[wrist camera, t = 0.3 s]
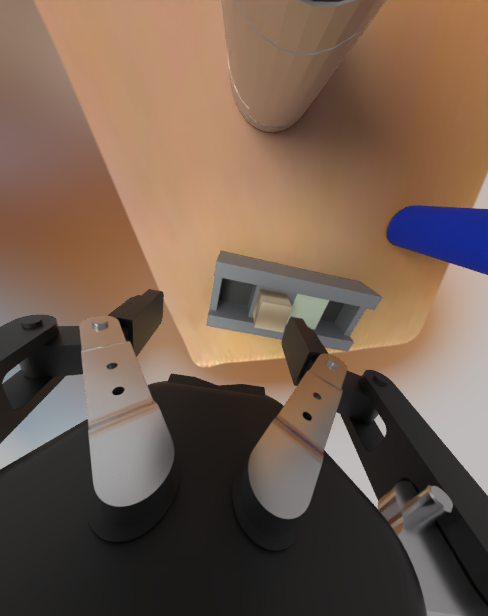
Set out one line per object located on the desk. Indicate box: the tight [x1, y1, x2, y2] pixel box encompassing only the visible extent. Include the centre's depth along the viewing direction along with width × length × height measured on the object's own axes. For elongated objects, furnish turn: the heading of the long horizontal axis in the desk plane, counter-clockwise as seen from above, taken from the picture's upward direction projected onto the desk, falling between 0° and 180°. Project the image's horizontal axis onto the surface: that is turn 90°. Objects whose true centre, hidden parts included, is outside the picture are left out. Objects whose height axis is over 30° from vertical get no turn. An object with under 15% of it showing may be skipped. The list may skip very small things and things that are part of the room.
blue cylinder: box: [387, 206, 488, 275], centre depth 21 cm, size 5×5×15 cm
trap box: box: [206, 251, 382, 351], centre depth 30 cm, size 10×23×6 cm, turn 77°
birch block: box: [253, 289, 292, 332], centre depth 27 cm, size 4×4×4 cm
